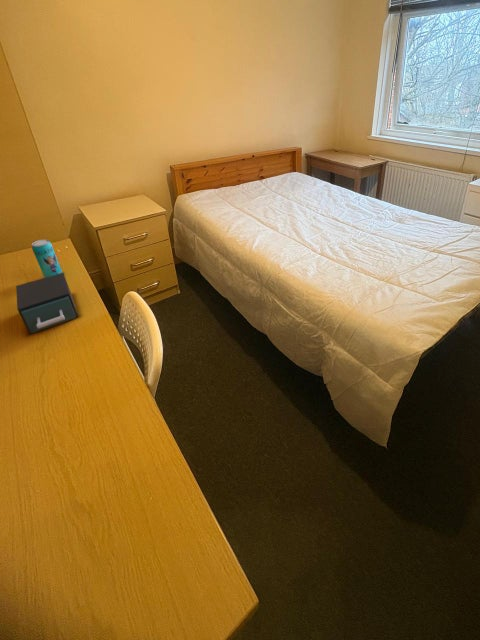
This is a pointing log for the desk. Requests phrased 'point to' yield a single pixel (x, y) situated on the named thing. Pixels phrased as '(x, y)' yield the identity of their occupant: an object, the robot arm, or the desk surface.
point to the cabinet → (43, 293)
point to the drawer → (48, 314)
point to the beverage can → (46, 258)
